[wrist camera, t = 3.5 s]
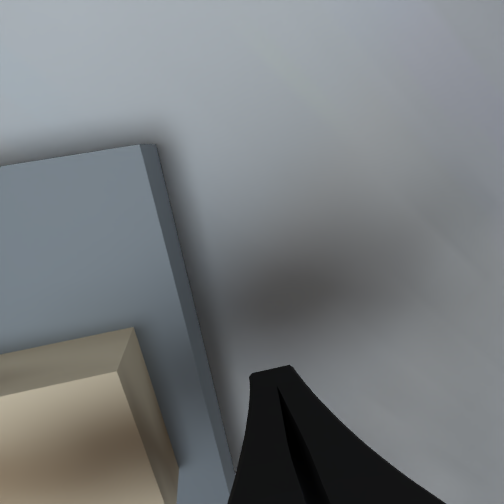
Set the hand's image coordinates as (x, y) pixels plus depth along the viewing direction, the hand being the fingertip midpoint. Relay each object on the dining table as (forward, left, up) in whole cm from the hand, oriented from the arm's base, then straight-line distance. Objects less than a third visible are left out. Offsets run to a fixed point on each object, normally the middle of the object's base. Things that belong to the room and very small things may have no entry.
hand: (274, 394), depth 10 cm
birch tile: (0, +6, -1) cm, 6 cm away
